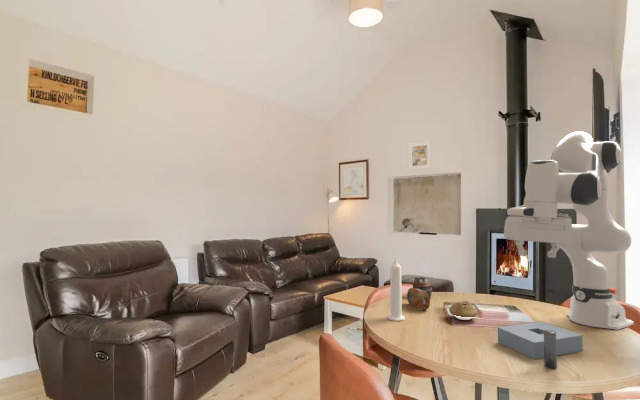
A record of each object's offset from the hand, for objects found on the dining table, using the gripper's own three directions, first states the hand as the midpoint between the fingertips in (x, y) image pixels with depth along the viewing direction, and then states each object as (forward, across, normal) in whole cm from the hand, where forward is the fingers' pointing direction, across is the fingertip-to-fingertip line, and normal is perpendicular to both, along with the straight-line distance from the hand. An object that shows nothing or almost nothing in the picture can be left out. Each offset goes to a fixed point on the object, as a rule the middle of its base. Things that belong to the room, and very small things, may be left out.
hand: (536, 256), depth 105 cm
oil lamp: (+32, +2, -38) cm, 50 cm away
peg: (+31, -1, +7) cm, 31 cm away
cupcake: (+33, +6, -72) cm, 80 cm away
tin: (+33, +15, -54) cm, 65 cm away
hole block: (+30, -8, -7) cm, 32 cm away
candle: (+34, +30, -39) cm, 60 cm away
